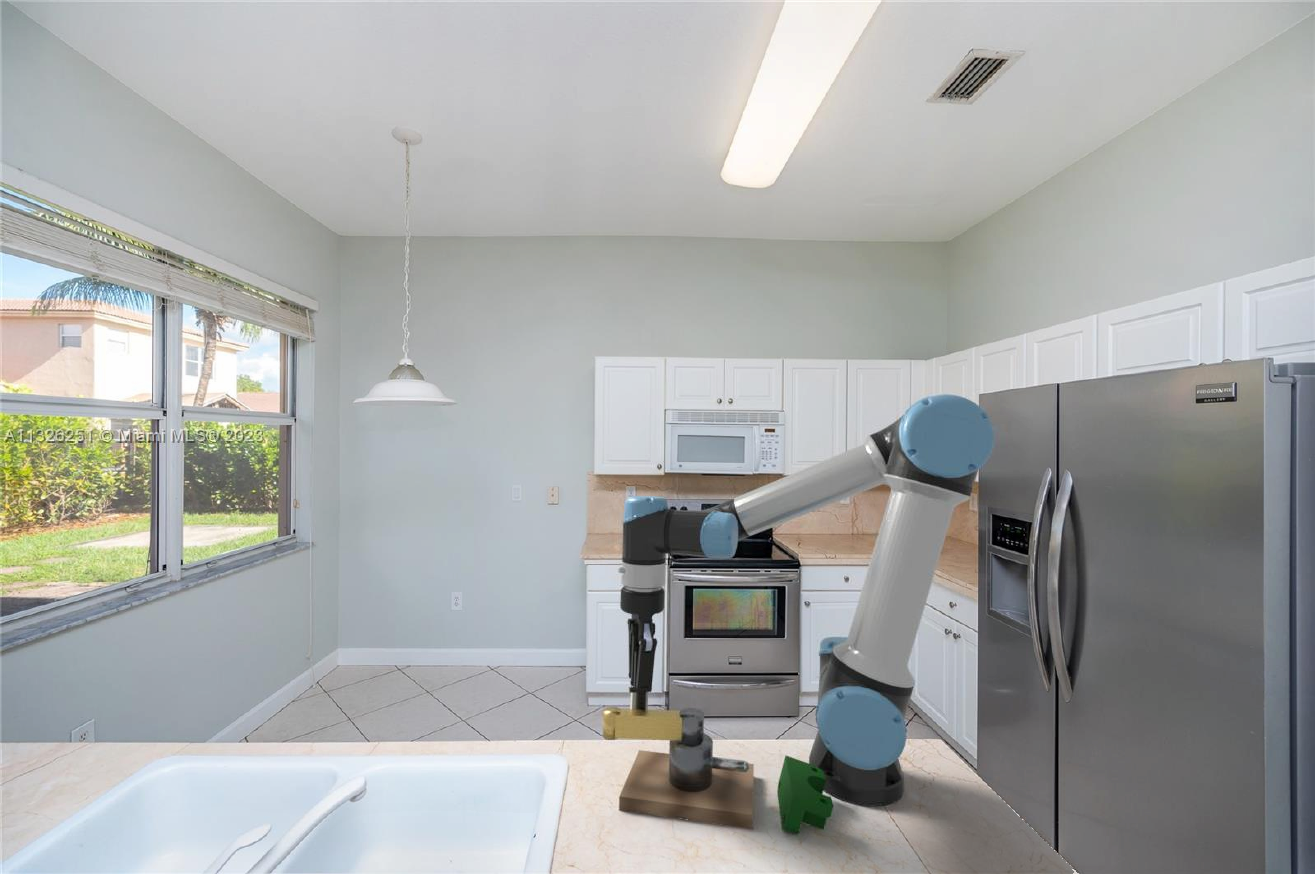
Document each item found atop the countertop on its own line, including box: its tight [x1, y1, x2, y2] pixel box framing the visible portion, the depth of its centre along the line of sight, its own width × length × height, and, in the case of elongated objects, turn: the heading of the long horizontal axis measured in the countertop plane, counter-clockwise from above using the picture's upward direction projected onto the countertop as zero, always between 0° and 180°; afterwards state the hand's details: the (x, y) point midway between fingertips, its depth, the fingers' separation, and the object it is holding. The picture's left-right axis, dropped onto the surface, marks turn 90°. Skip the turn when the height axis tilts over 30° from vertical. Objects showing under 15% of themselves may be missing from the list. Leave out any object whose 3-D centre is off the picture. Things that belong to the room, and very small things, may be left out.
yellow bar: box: [602, 706, 705, 745], centre depth 87 cm, size 16×4×4 cm, turn 89°
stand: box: [618, 749, 755, 830], centre depth 86 cm, size 20×14×2 cm
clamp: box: [776, 755, 835, 836], centre depth 81 cm, size 12×6×9 cm, turn 166°
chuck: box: [668, 733, 750, 792], centre depth 86 cm, size 13×7×6 cm, turn 79°
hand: (638, 728), depth 90 cm, fingers closed
